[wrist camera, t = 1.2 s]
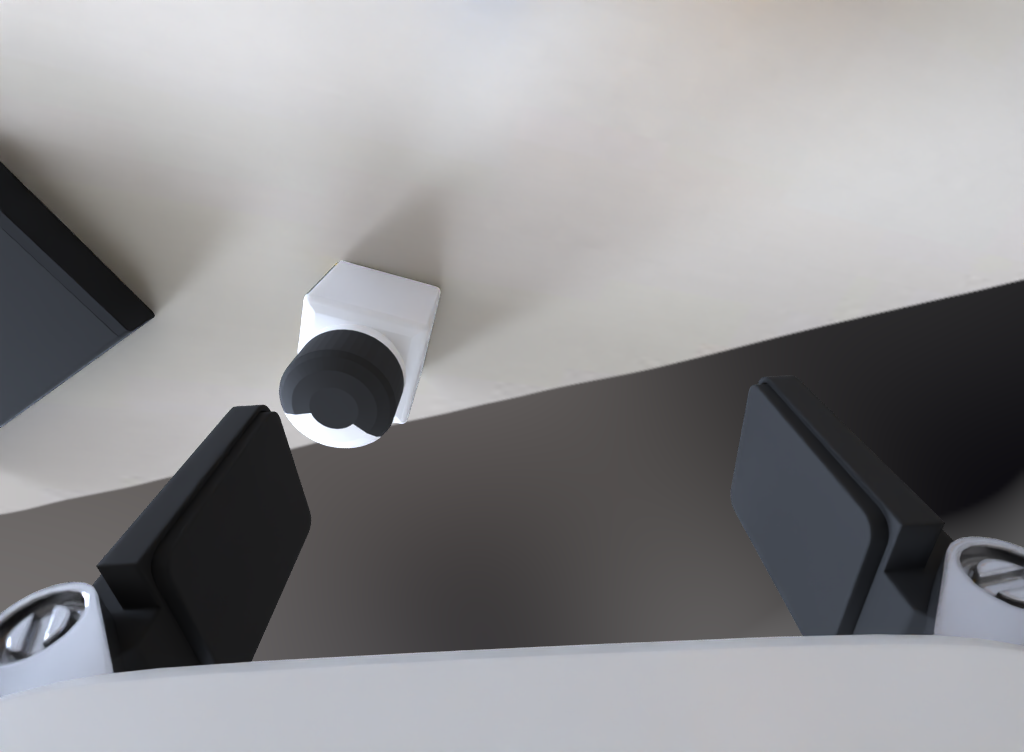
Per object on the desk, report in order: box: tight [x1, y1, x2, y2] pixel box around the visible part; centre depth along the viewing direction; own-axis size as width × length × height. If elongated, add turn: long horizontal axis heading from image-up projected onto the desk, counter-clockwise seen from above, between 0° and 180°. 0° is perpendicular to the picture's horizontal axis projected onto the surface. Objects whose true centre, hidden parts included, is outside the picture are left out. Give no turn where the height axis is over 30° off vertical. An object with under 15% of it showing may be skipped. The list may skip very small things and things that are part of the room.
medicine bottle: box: [279, 261, 441, 448], centre depth 32 cm, size 7×7×12 cm
